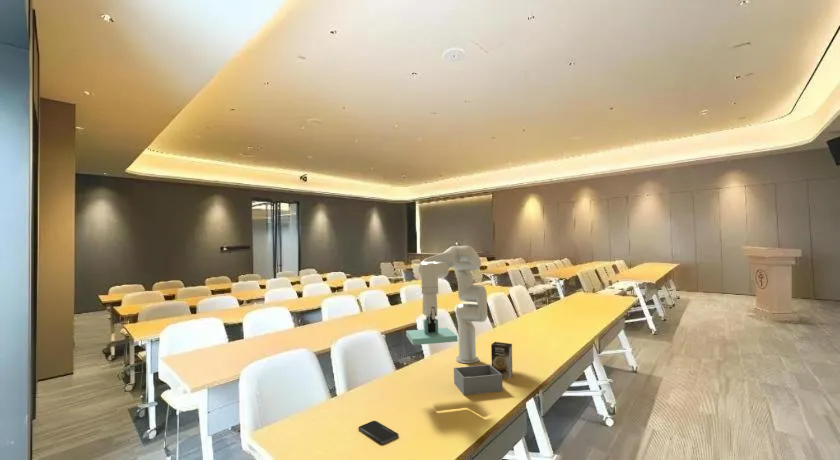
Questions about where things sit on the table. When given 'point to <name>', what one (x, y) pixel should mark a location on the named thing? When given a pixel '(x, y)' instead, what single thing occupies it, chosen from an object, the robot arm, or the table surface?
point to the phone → (378, 432)
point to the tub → (478, 379)
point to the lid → (431, 335)
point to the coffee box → (502, 358)
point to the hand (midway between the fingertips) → (430, 330)
